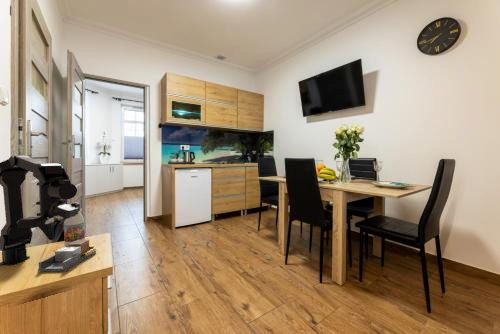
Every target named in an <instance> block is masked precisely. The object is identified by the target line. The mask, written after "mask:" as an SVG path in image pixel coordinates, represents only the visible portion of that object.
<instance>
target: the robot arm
mask: <svg viewBox="0 0 500 334" xmlns="http://www.w3.org/2000/svg"><path fill="white" fill-rule="evenodd" d="M29 172H30V173H32V176H33V177H34V178H35V179H37V180H38V182H37V183H36V186H38V191H39V193H38V194H39V195H38V197H39V201H36V202H35V205H39V212H37V213H36V216H27V217H24V209H23V198H22V188H21V187H22V185H23V183H24V182H25V180H26V178H27V176H26V175H27V174H28V173H29ZM0 186H1V187H2V191H3V192H2V193H3V201H4V203H3V204H4V212H5V214H4V215H5V224H4V225H3V227H2V228H1V229H0V251H1V255H2V256H1V258H2V259H1V260H2V261H1V262H0V266H7V265H9V266H10V265H16V264H17V265H18V264H19V263H21V262H23V261H25V260H27V259H29V258H30V257H31V256H30V255H29V256H28V254H27V253H28V252H27V246H26V245H28V244H31V243H32V239H33V231H32V229H34V228H36V229H37V228H38V229H40V230H41V231H42V233H43V234H44V235H45V236H46V238H47V239H48V241H53V240H55V238H56V237H57V236H56V235H57V233H58V231H59V227H60V226H61V224H62V223H63V222H64V221H65V220H66V219H68V218H70V217H73V216H76V215H77V214H78V211H80V212H81V203H80V202H72V203H68V204H67V203H66V201H65V200H71V199H73V198H74V197H75V196H76V195H77V192H78V188H77V186H76V185H75V184H74V183H72V182H71V179H70V176H69V174H67V171H66V170H65V168H64V166H63V165H62V164H60V163H53V162H52V163H47V162H43V161H40V160H37V159H35V158H33V157H31V156H30V155H29V156H28V155H11V156H9V158H8V159H6V160H3V161H1V162H0Z"/></svg>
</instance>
